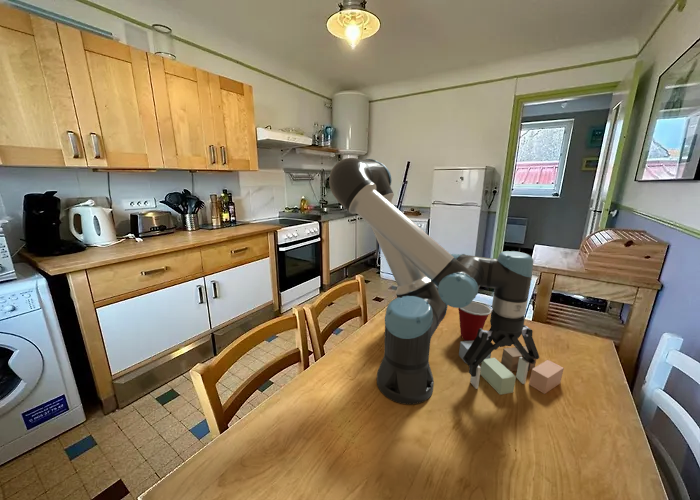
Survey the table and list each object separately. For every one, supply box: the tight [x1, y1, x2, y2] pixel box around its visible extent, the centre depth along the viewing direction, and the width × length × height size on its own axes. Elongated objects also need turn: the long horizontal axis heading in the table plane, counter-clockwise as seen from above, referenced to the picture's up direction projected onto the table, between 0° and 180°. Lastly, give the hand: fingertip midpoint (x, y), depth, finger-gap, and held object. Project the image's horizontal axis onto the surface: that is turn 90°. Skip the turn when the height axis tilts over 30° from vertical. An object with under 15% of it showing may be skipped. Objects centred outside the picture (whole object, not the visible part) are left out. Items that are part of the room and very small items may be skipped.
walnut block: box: [500, 345, 537, 372], centre depth 84 cm, size 8×4×5 cm, turn 100°
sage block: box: [480, 357, 517, 396], centre depth 77 cm, size 8×4×5 cm, turn 12°
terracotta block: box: [528, 359, 565, 395], centre depth 77 cm, size 8×4×5 cm, turn 120°
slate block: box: [458, 340, 492, 364], centre depth 88 cm, size 8×4×5 cm, turn 97°
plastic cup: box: [457, 301, 492, 341], centre depth 98 cm, size 11×11×12 cm
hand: (497, 383), depth 78 cm, fingers open, 13 cm apart
